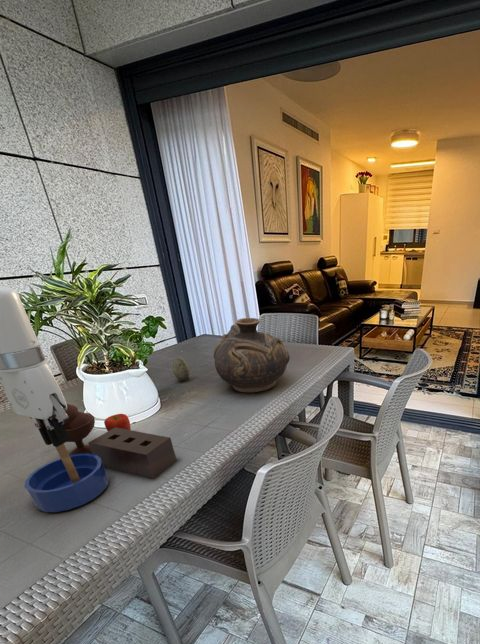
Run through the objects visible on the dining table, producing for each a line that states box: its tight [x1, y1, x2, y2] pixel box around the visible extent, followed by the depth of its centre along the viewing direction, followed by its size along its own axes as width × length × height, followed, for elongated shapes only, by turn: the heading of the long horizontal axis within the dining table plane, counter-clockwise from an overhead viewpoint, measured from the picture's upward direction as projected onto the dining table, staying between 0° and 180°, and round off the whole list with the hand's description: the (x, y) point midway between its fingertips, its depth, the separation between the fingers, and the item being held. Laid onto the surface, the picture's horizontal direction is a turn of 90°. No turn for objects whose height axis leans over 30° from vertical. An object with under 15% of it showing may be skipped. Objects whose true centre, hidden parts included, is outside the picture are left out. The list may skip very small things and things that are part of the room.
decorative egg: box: [172, 356, 191, 382], centre depth 141 cm, size 6×6×10 cm
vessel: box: [213, 317, 291, 393], centre depth 131 cm, size 27×28×25 cm
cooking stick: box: [43, 418, 80, 483], centre depth 76 cm, size 2×2×18 cm
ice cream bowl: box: [52, 403, 96, 455], centre depth 94 cm, size 11×11×15 cm
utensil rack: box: [88, 427, 177, 479], centre depth 90 cm, size 19×8×7 cm, turn 70°
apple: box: [103, 413, 132, 432], centre depth 101 cm, size 6×6×8 cm
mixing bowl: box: [24, 453, 110, 513], centre depth 80 cm, size 15×15×6 cm
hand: (58, 442), depth 74 cm, fingers closed on cooking stick, 1 cm apart
